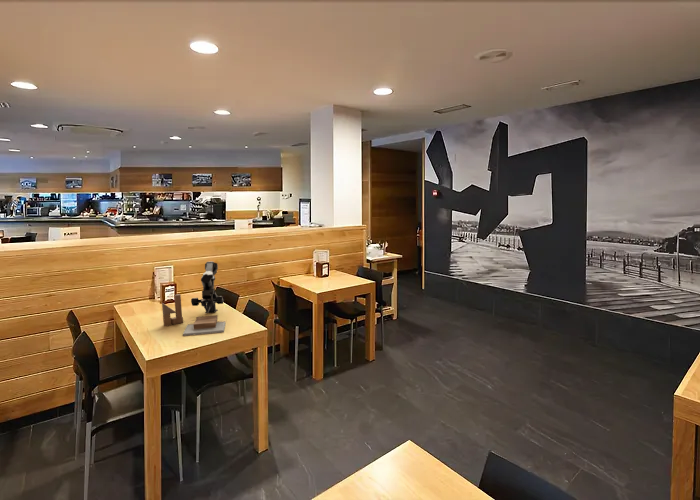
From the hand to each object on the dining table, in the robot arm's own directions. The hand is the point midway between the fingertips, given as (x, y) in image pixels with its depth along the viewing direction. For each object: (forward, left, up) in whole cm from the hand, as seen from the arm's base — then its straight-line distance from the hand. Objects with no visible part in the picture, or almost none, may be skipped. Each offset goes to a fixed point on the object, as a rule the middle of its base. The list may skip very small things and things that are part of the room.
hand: (207, 312), depth 248 cm
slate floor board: (+13, +3, -6) cm, 15 cm away
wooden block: (+3, -20, -6) cm, 21 cm away
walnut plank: (+1, 0, -3) cm, 3 cm away
